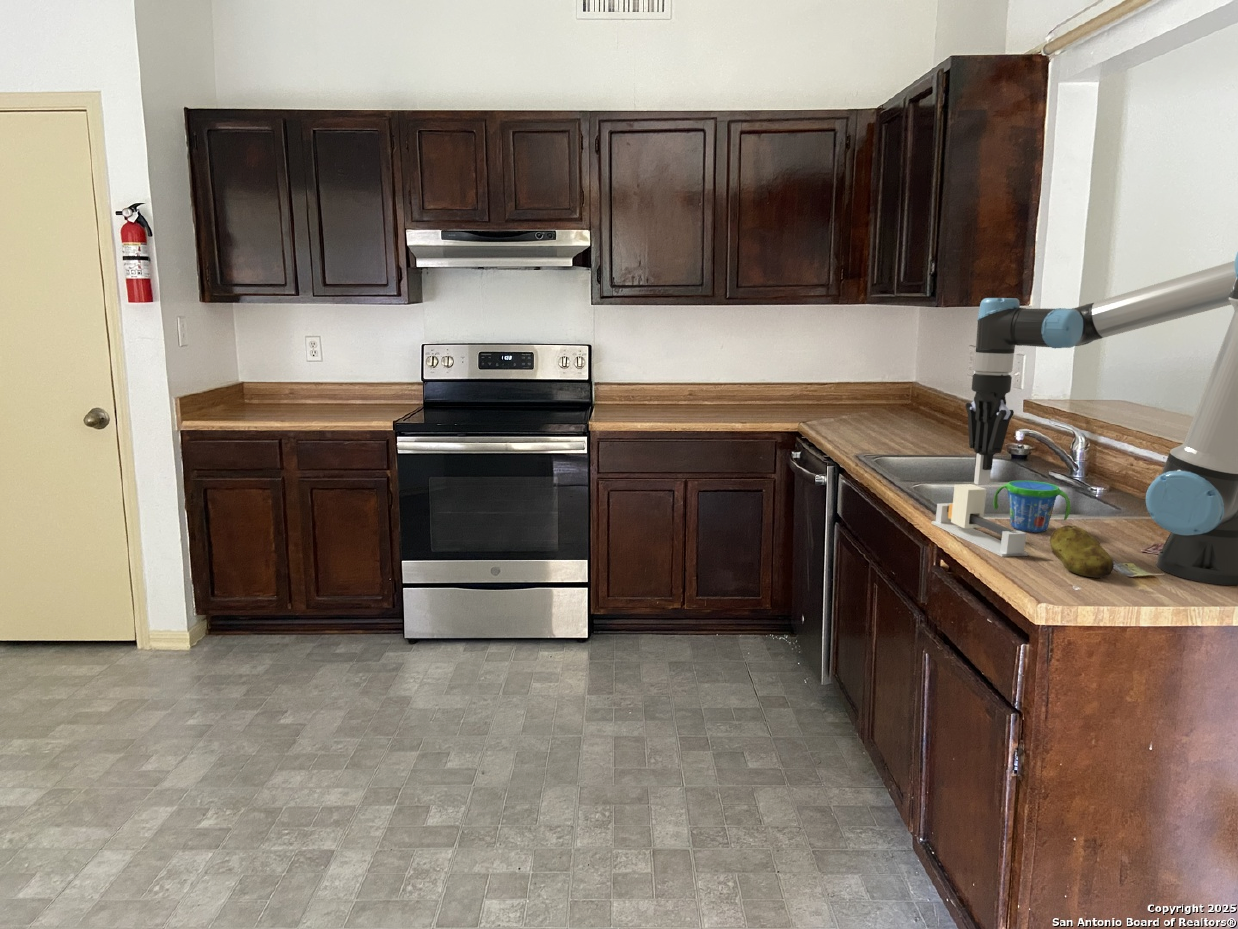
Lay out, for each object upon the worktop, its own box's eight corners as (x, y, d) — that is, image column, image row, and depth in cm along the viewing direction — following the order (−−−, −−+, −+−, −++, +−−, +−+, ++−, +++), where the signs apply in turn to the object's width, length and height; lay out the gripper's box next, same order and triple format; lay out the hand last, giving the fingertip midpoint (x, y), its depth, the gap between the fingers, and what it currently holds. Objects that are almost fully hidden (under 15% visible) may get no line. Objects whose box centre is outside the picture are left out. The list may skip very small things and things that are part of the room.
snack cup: (984, 526, 195) (989, 482, 193) (1001, 518, 203) (1006, 476, 201) (1057, 540, 185) (1063, 494, 183) (1072, 531, 192) (1078, 487, 190)
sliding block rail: (1027, 555, 174) (1031, 528, 173) (1001, 556, 172) (1005, 530, 171) (954, 522, 198) (957, 499, 196) (931, 523, 196) (933, 499, 195)
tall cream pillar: (982, 527, 186) (986, 489, 185) (964, 528, 185) (968, 489, 184) (968, 521, 191) (972, 484, 190) (950, 522, 190) (954, 484, 189)
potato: (1070, 581, 159) (1076, 539, 157) (1040, 559, 171) (1045, 521, 170) (1116, 582, 158) (1123, 541, 157) (1083, 561, 171) (1088, 522, 169)
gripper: (1029, 375, 173) (1017, 490, 178) (988, 370, 186) (978, 477, 190) (996, 376, 171) (985, 491, 176) (957, 370, 184) (948, 478, 188)
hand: (981, 483), depth 183 cm, fingers closed
